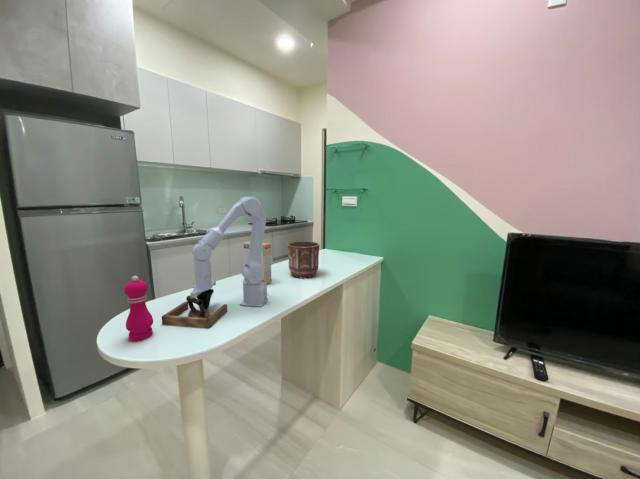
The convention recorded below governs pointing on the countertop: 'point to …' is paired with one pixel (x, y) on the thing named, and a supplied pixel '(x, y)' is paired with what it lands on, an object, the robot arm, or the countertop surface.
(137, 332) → the pepper mill
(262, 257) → the cracker box
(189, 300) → the clothes iron
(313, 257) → the pottery
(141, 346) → the countertop surface
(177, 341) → the countertop surface
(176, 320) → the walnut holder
